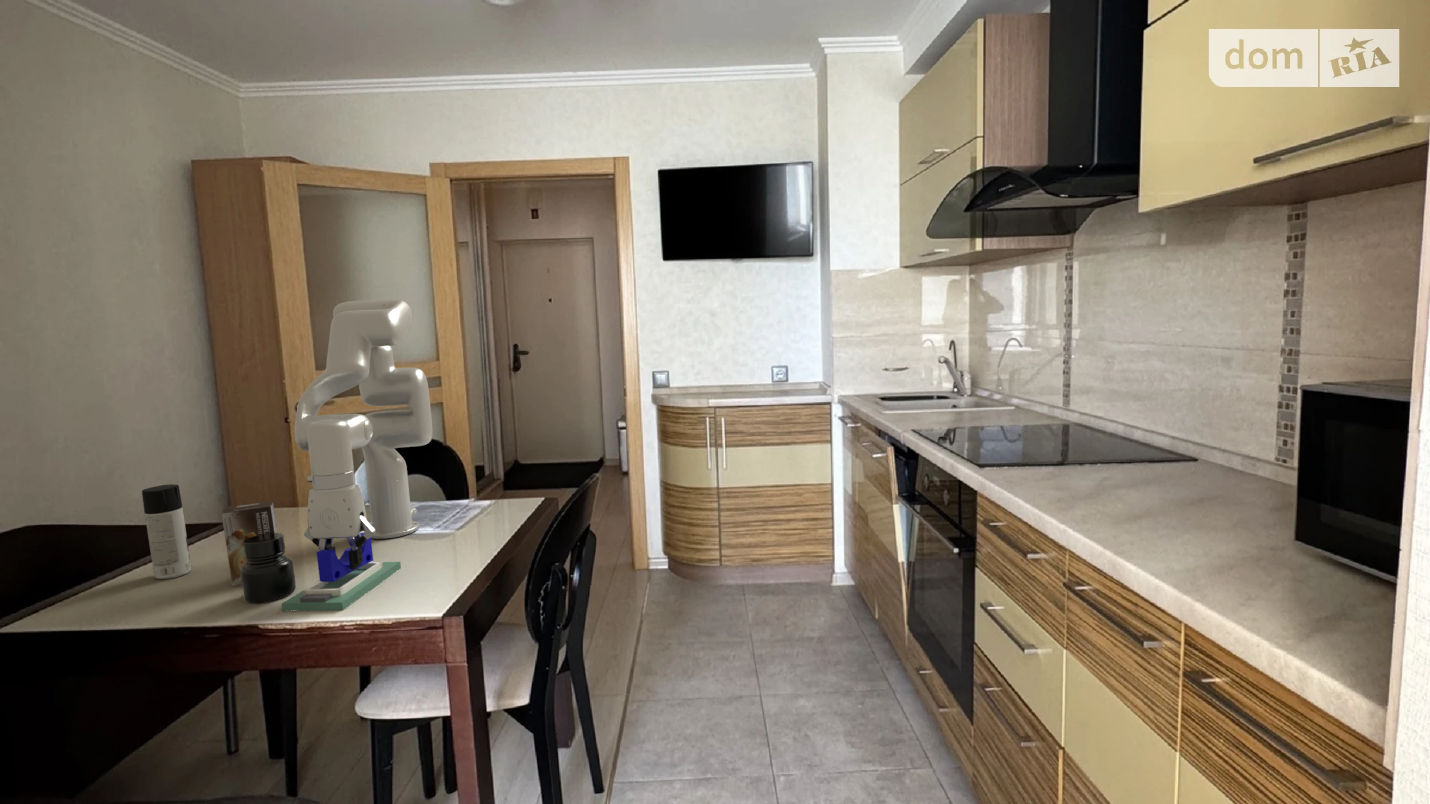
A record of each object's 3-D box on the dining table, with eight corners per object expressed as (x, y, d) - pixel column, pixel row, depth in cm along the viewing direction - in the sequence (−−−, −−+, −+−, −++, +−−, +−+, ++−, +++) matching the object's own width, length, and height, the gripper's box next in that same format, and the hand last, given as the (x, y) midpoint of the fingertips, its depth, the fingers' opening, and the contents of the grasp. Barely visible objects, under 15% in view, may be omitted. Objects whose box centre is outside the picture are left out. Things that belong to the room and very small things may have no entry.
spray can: (198, 570, 159) (186, 484, 156) (167, 581, 152) (154, 491, 150) (178, 568, 161) (166, 483, 158) (146, 578, 155) (133, 490, 152)
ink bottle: (302, 583, 148) (296, 528, 146) (292, 599, 139) (285, 541, 138) (249, 591, 145) (242, 535, 143) (235, 607, 136) (227, 548, 135)
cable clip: (354, 559, 150) (351, 532, 149) (373, 560, 149) (370, 533, 149) (313, 581, 138) (309, 552, 138) (333, 581, 138) (329, 552, 137)
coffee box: (283, 569, 157) (275, 499, 155) (281, 578, 152) (272, 505, 150) (234, 577, 153) (225, 506, 151) (230, 587, 147) (220, 513, 145)
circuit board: (348, 569, 155) (347, 557, 155) (400, 568, 155) (399, 556, 154) (282, 611, 134) (280, 597, 133) (343, 610, 133) (341, 596, 132)
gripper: (281, 486, 138) (292, 575, 140) (364, 484, 137) (373, 573, 139) (305, 477, 146) (315, 562, 148) (384, 475, 145) (393, 560, 147)
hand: (343, 566), depth 143 cm, fingers closed on cable clip, 4 cm apart
